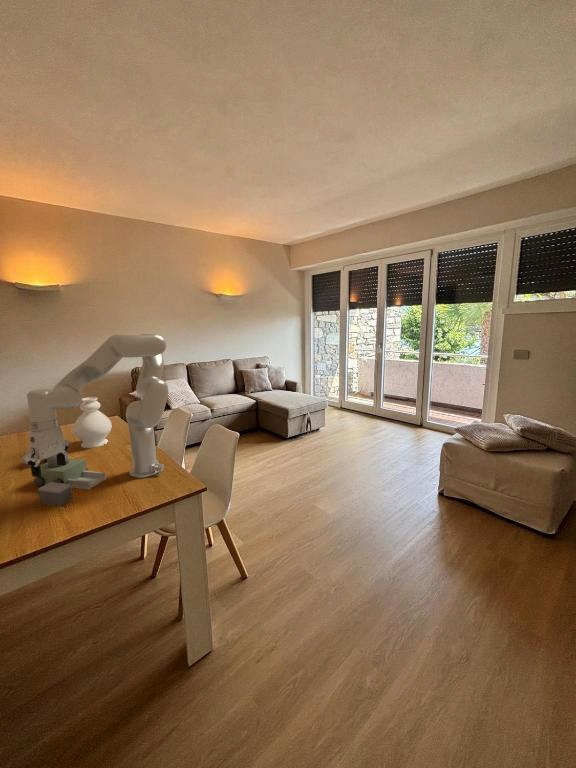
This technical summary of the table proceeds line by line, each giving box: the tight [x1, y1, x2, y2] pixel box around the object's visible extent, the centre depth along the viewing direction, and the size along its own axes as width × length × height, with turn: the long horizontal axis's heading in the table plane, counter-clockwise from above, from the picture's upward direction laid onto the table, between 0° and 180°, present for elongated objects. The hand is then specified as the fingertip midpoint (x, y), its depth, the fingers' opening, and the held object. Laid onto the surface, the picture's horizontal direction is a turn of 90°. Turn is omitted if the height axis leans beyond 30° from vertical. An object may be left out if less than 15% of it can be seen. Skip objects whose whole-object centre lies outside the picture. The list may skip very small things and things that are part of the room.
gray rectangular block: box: [37, 482, 74, 507], centre depth 120 cm, size 9×5×6 cm, turn 78°
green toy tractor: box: [33, 451, 107, 491], centre depth 134 cm, size 24×13×11 cm, turn 78°
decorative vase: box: [72, 396, 113, 449], centre depth 174 cm, size 18×18×25 cm
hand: (49, 470), depth 117 cm, fingers open, 9 cm apart
